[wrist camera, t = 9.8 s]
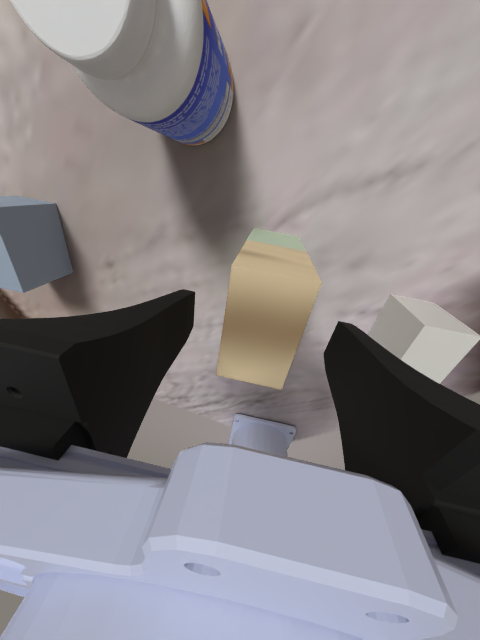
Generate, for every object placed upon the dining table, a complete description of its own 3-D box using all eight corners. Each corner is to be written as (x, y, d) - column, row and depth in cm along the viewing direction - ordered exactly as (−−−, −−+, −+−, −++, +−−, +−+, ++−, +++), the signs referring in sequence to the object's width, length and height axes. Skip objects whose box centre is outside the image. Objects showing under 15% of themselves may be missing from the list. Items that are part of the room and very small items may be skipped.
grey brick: (395, 357, 21) (425, 399, 17) (358, 349, 21) (379, 389, 17) (433, 302, 18) (481, 336, 14) (390, 293, 18) (425, 325, 14)
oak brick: (280, 335, 16) (281, 389, 11) (232, 325, 16) (216, 375, 12) (306, 251, 13) (321, 283, 8) (247, 239, 13) (231, 264, 9)
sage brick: (279, 304, 20) (280, 336, 16) (241, 297, 20) (232, 326, 16) (298, 236, 17) (305, 252, 13) (253, 227, 17) (246, 240, 13)
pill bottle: (252, 68, 13) (206, -159, 4) (208, 165, 15) (129, 137, 7) (168, -4, 12) (-88, -462, 4) (137, 112, 14) (-49, 8, 6)
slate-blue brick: (73, 272, 21) (23, 292, 17) (40, 265, 22) (-19, 283, 17) (56, 203, 18) (-11, 207, 14) (17, 195, 18) (-61, 197, 14)
